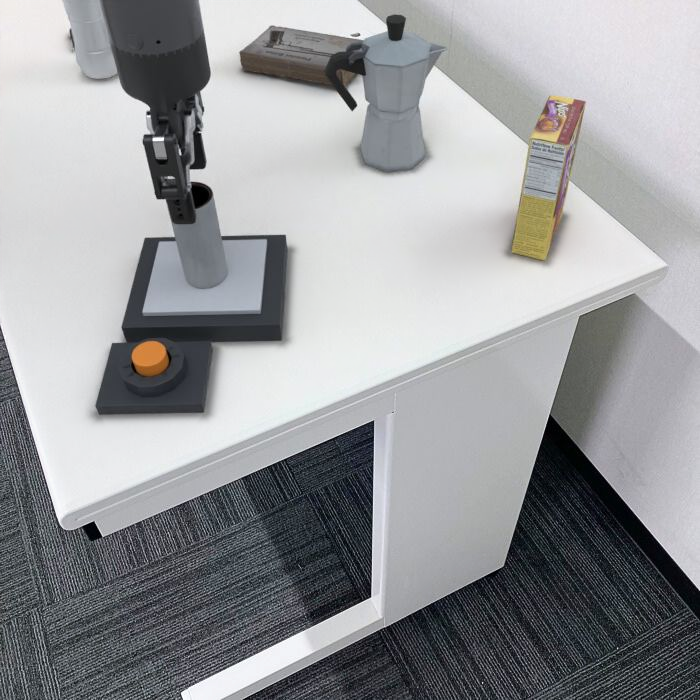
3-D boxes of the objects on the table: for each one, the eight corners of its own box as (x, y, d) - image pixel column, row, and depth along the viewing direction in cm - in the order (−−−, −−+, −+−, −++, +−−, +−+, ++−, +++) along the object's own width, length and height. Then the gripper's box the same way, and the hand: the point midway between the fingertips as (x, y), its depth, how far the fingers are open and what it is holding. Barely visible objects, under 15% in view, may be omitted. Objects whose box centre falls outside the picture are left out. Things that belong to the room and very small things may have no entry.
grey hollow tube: (211, 254, 81) (195, 175, 73) (236, 274, 78) (222, 195, 71) (176, 273, 79) (156, 194, 71) (201, 295, 76) (182, 216, 69)
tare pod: (98, 414, 70) (90, 395, 68) (115, 351, 76) (107, 331, 73) (203, 412, 70) (198, 393, 68) (213, 349, 76) (208, 329, 73)
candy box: (526, 208, 90) (549, 92, 79) (562, 216, 89) (590, 100, 77) (507, 253, 85) (529, 136, 73) (544, 262, 83) (572, 145, 72)
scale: (126, 344, 76) (119, 323, 74) (149, 253, 86) (143, 233, 83) (281, 340, 76) (279, 320, 74) (287, 251, 86) (285, 230, 83)
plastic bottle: (99, 59, 116) (59, -80, 101) (134, 68, 114) (99, -73, 99) (72, 78, 112) (27, -64, 97) (107, 88, 110) (67, -56, 95)
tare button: (132, 377, 70) (128, 366, 69) (138, 351, 72) (134, 341, 71) (166, 376, 70) (163, 366, 69) (171, 351, 72) (168, 340, 71)
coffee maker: (430, 129, 102) (440, -4, 88) (447, 166, 96) (460, 29, 82) (323, 141, 100) (316, 7, 87) (333, 180, 94) (328, 43, 81)
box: (343, 91, 107) (342, 70, 105) (240, 71, 113) (237, 51, 110) (372, 59, 114) (372, 39, 112) (273, 42, 119) (271, 22, 117)
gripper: (191, 71, 54) (222, 241, 66) (211, -13, 64) (235, 150, 76) (89, 74, 54) (139, 243, 66) (124, -11, 64) (162, 151, 76)
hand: (190, 193), depth 71 cm, fingers open, 8 cm apart
